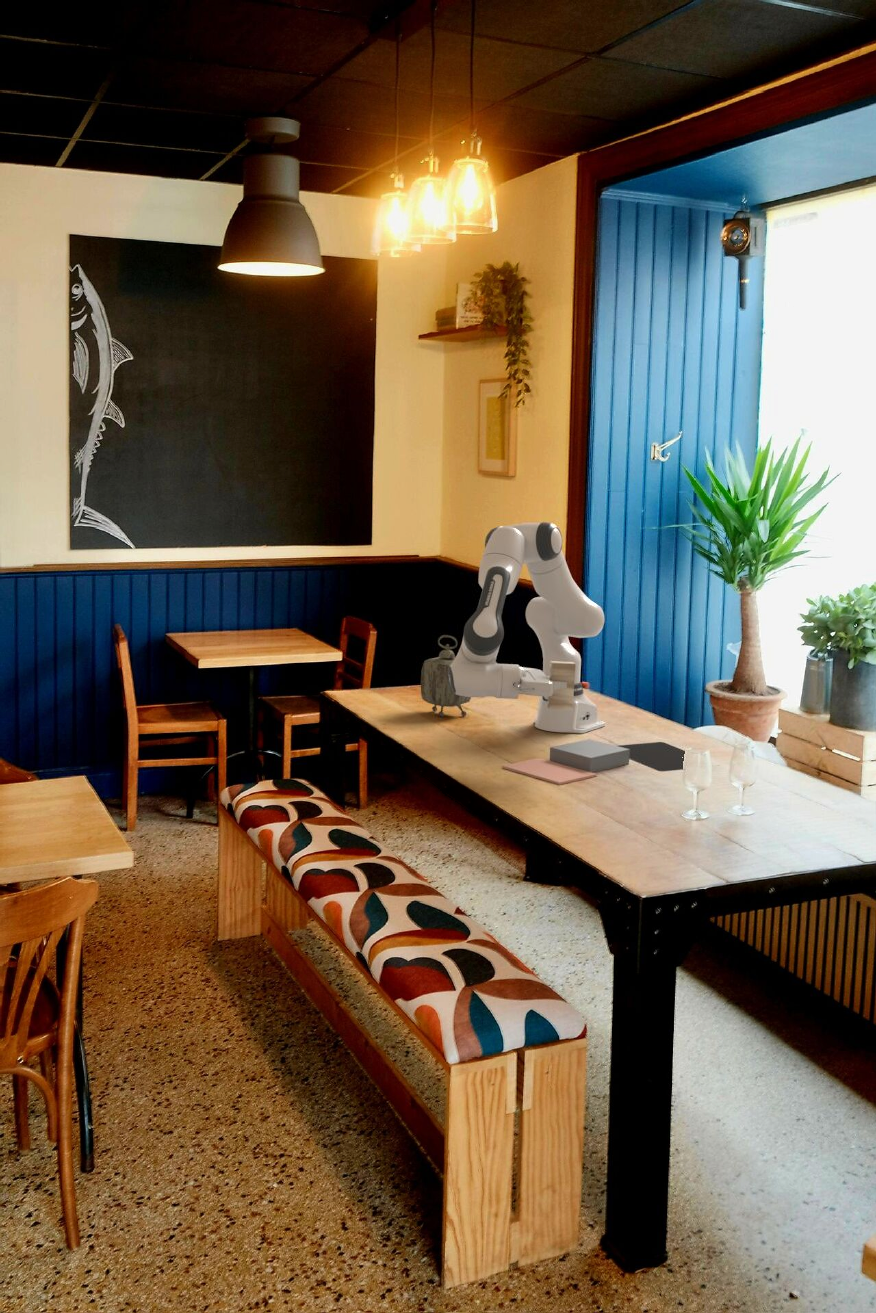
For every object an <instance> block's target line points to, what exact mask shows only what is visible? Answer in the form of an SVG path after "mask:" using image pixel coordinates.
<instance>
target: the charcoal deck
mask: <svg viewBox="0 0 876 1313" xmlns="http://www.w3.org/2000/svg"><path fill="white" fill-rule="evenodd" d="M629 755H630V749H627V748H623V747H619V745H614V744H611V743H606V742H602V741H599V740H595V739H590V738H589V739H585V740H578V741H574V742H570V743H568V742H567V743H565V744H560V745H559V744H558V745H555V746H554V745H553V746H550V747H549V761H552V762H555V763H559V764H563V765H566V766H570V767H573V768H577V769H581V770H584V771H588V772H591V773H597V772H601V771H604V770H608V769H614V768H617V767H622V766H627V765H630V759H629Z"/></svg>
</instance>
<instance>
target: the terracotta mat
mask: <svg viewBox="0 0 876 1313" xmlns="http://www.w3.org/2000/svg"><path fill="white" fill-rule="evenodd" d="M501 768H502V769H505V770H508V771H511V772H514V773H517V774H518V773H519V774H522V775H524V776H528V777H532V778H535V779H539V780H542V781H545V782H549V783H552V784H555V785H558V786H562V785H565V784H570V783H574V782H577V781H578V782H579V781H582V780H586V779H590V778H594V777H597V775H598V774H597V773H596V772H592V773H591V772H588V771H584V770H581V769H577V768H573V767H570V766H566V765H563V764H559V763H555V762H552V761H550V760H548V759H544V758H540V757H536V758H532V759H527V760H523V761H519V762H513V763H508V764H504V765H501Z"/></svg>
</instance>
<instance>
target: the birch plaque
mask: <svg viewBox="0 0 876 1313" xmlns="http://www.w3.org/2000/svg"><path fill="white" fill-rule="evenodd" d="M575 666H576V664H575V663H574V662H558V661H550V676H549V679H550V681H565V682H566V683H567V688H566V689H556V690H553V693H552V696H548V708H549V709H552V710H573V696H574V681H575Z"/></svg>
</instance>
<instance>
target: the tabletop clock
mask: <svg viewBox="0 0 876 1313" xmlns="http://www.w3.org/2000/svg"><path fill="white" fill-rule="evenodd" d="M443 638H450V639H452V640H453V641H454V642H455V645H454V646H450V644H448V643H447V644H445V645H442V644H441V643H440V640H442V639H443ZM437 644H438V646H439V647H441V648H442V649H443V650H441V651H440V652H439V655H438V656H437V657H433V658H428V659H426V660H424V662H423V663H422V667H421V674H420V696H421V699H422V700H423V701H424V702H426V703H428V704H430V705H434V706H432V708H431V709H432V711H433V712H437V710H438V707H437V706H439V707H440V711H439V712H438V716H439V717H443V716H444V711H443V710H444V708H445V707H448V708H453V707H457V708H458V709H459V710H460V711H461V713H460V715H461V716H462V717H465V716H466V715H467V711H465V710H463V708H462V706H461V705H464V704H467V703H469V702H470V701H471V699H472V697H466V696H460V695H457V694H454V693H453V692H452V691H451V689H450V687H449V683H448V667H449V665H451V664H452V662H453V661H454V659H455V658H456V655H455V654H456V653H454V651H453V649H455V648H457V646H458V640H457V638H456V637H454V636H452V635H448V634H443V635H440V637H438V639H437Z"/></svg>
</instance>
